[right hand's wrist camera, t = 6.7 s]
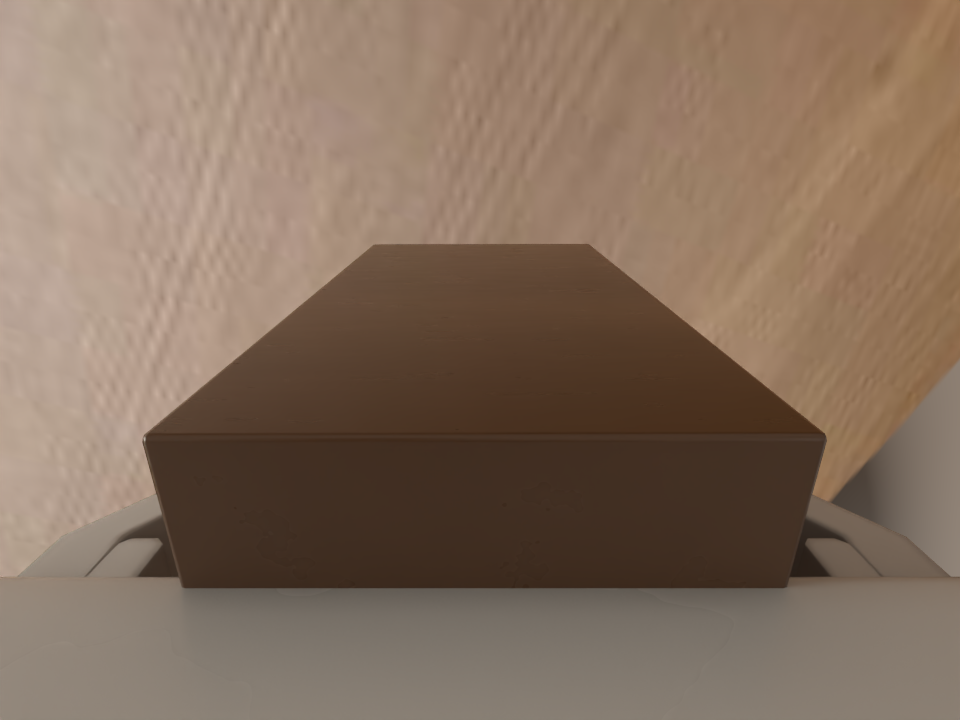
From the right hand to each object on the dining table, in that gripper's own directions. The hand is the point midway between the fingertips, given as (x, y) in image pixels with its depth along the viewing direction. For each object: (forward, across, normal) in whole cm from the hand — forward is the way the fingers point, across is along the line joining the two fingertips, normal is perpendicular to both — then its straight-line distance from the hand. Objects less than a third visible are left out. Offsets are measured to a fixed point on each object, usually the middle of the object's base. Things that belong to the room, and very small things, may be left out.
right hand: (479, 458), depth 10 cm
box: (+5, 0, +7) cm, 9 cm away
